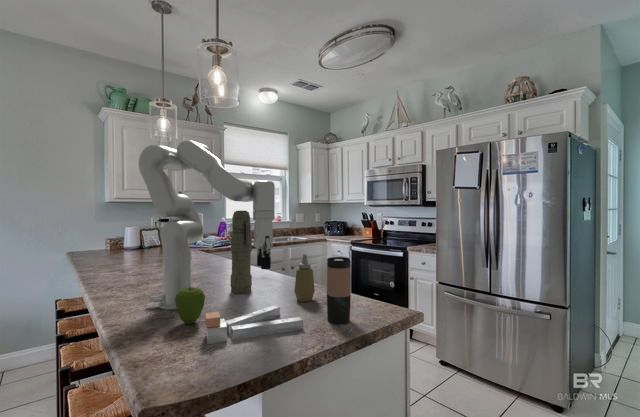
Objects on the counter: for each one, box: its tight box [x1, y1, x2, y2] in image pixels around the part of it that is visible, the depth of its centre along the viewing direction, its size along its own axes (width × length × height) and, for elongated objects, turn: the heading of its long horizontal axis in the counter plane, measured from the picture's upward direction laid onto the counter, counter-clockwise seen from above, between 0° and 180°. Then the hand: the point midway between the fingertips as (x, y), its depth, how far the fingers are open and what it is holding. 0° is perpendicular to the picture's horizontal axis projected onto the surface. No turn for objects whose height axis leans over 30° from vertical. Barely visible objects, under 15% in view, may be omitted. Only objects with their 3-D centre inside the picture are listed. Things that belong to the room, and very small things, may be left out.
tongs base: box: [205, 316, 304, 345], centre depth 93 cm, size 27×7×4 cm, turn 113°
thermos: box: [230, 210, 253, 295], centre depth 138 cm, size 9×12×35 cm
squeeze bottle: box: [294, 253, 316, 302], centre depth 126 cm, size 8×8×18 cm
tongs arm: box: [225, 305, 281, 335], centre depth 100 cm, size 20×3×3 cm, turn 142°
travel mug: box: [326, 256, 352, 326], centre depth 102 cm, size 8×8×20 cm
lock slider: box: [204, 311, 221, 329], centre depth 88 cm, size 4×5×2 cm
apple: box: [175, 287, 206, 325], centre depth 100 cm, size 9×8×12 cm
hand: (263, 266), depth 112 cm, fingers open, 5 cm apart
